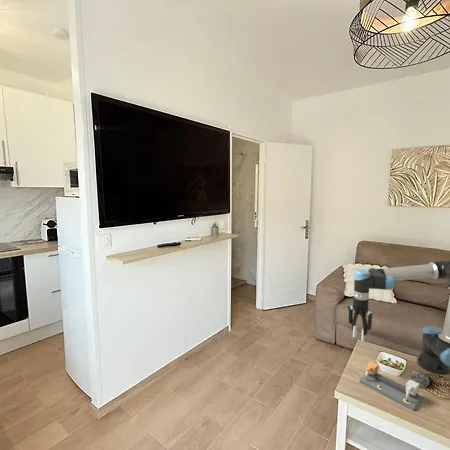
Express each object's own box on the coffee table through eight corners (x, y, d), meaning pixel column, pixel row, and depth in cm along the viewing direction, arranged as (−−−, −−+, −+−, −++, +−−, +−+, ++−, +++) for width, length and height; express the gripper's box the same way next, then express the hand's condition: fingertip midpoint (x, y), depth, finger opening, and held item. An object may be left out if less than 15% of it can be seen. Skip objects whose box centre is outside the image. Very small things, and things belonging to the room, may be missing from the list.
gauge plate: (369, 373, 153) (370, 360, 152) (422, 399, 133) (423, 384, 133) (359, 382, 146) (360, 368, 145) (413, 411, 126) (414, 395, 125)
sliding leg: (370, 370, 152) (370, 361, 151) (377, 374, 149) (378, 364, 148) (362, 377, 146) (362, 367, 146) (370, 381, 143) (370, 371, 142)
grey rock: (426, 383, 149) (436, 393, 139) (403, 375, 151) (411, 385, 142) (429, 371, 149) (439, 380, 139) (406, 364, 151) (414, 372, 142)
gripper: (342, 295, 155) (340, 334, 158) (374, 304, 142) (371, 347, 144) (349, 292, 160) (347, 330, 162) (380, 301, 146) (377, 342, 149)
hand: (358, 338), depth 153 cm, fingers open, 4 cm apart
